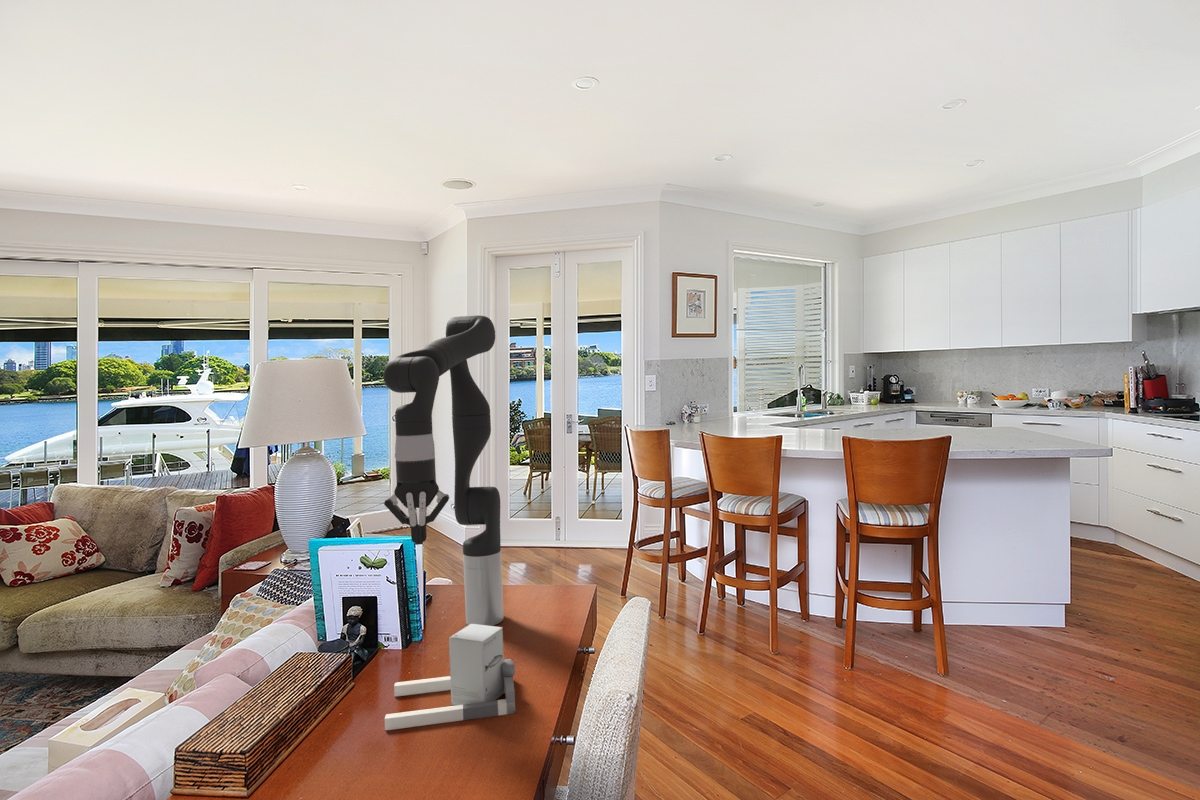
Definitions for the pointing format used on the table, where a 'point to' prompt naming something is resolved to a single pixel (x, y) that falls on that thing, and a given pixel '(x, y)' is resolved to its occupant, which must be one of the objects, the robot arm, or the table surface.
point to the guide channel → (451, 711)
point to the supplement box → (476, 664)
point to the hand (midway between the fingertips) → (419, 543)
